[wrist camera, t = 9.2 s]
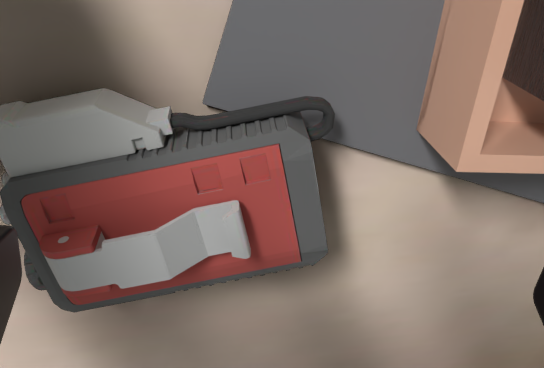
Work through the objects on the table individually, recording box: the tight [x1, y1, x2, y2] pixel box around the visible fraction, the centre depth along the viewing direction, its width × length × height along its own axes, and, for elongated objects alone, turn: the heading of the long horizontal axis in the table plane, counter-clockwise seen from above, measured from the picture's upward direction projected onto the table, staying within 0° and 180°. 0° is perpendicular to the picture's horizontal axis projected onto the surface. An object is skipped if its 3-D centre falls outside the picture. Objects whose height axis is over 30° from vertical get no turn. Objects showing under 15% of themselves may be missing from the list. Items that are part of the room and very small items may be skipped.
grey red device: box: [0, 88, 335, 312], centre depth 20 cm, size 9×4×20 cm
